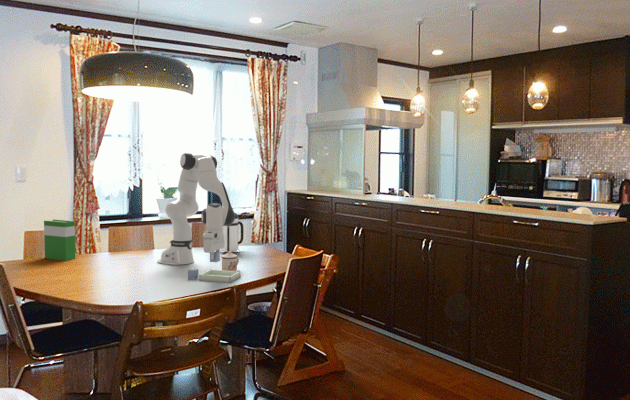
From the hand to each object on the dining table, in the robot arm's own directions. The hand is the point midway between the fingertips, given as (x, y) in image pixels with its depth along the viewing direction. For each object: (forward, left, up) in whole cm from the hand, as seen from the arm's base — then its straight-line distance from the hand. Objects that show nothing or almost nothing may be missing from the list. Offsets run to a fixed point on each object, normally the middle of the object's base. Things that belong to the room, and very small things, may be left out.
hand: (214, 258), depth 299 cm
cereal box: (-114, +18, -11) cm, 116 cm away
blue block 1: (-11, -4, -11) cm, 16 cm away
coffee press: (-23, +75, -11) cm, 79 cm away
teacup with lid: (+1, +20, -11) cm, 23 cm away
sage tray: (+3, 0, -11) cm, 12 cm away
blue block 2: (0, 0, -2) cm, 2 cm away
